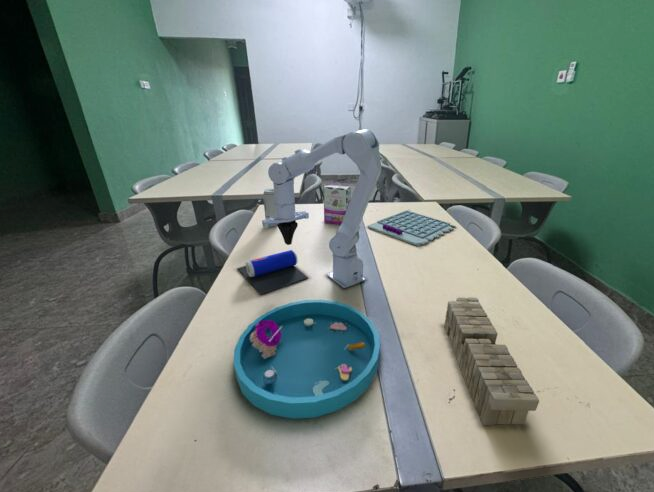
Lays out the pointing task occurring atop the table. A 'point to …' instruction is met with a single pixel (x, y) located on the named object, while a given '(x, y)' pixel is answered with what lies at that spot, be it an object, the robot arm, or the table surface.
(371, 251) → the table surface
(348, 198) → the candy bar box
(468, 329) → the block tower
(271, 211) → the energy drink can
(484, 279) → the table surface
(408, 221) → the calendar
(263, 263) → the beverage can
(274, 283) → the mat
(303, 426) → the table surface
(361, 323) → the round teal tray
